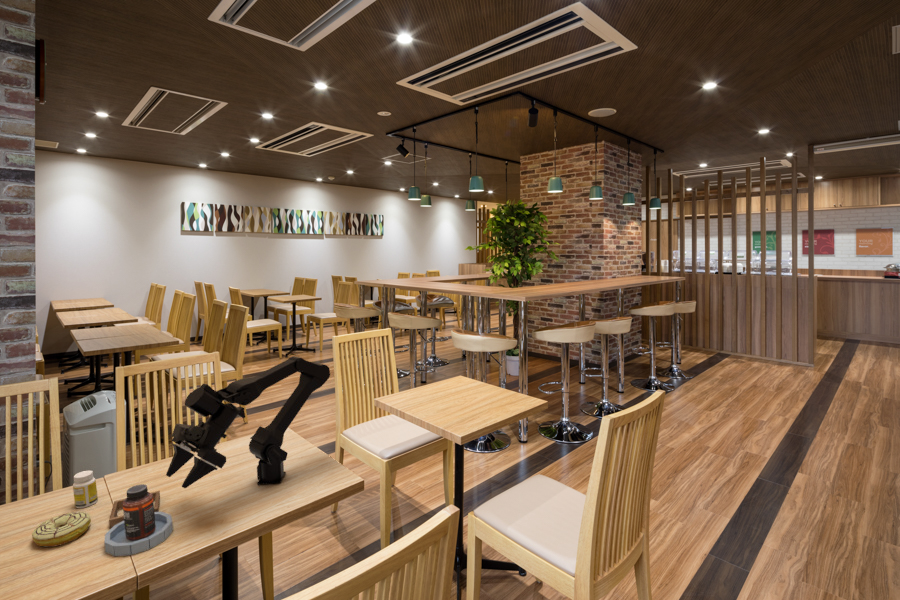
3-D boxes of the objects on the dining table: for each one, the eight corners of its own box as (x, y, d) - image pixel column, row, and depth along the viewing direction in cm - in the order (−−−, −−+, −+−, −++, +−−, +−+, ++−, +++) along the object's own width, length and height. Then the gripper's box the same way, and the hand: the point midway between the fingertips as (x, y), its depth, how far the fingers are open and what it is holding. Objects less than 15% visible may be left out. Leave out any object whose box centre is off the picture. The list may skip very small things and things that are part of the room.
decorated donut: (72, 519, 114) (71, 505, 114) (101, 527, 111) (100, 512, 110) (22, 544, 104) (20, 529, 104) (52, 553, 101) (51, 538, 100)
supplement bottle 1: (96, 496, 124) (93, 467, 123) (99, 503, 121) (96, 473, 120) (74, 503, 121) (71, 473, 120) (76, 510, 118) (72, 480, 117)
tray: (160, 498, 123) (159, 490, 123) (158, 516, 115) (157, 508, 114) (115, 508, 118) (114, 500, 118) (109, 528, 110) (108, 520, 109)
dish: (182, 519, 113) (181, 510, 113) (153, 553, 100) (153, 543, 100) (127, 522, 112) (126, 513, 112) (91, 557, 99) (90, 547, 99)
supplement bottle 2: (159, 524, 110) (156, 480, 109) (151, 539, 104) (147, 492, 103) (131, 528, 108) (127, 483, 107) (121, 543, 103) (117, 496, 101)
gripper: (177, 403, 120) (132, 458, 112) (209, 418, 108) (163, 480, 101) (209, 422, 127) (170, 475, 119) (243, 438, 115) (202, 498, 108)
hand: (175, 481), depth 112 cm, fingers open, 9 cm apart
